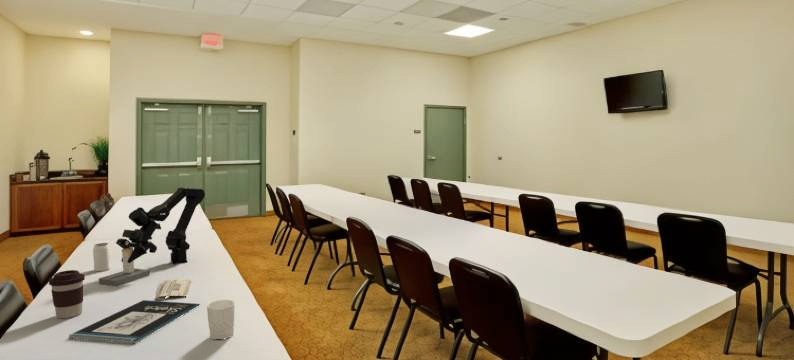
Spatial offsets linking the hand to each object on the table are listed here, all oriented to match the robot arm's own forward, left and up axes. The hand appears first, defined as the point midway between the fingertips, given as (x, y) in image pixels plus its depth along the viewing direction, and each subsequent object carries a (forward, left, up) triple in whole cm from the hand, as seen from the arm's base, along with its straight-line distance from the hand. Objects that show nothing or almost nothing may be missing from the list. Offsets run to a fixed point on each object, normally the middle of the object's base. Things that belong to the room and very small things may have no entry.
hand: (125, 262), depth 194 cm
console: (0, 0, -8) cm, 8 cm away
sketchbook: (-2, +55, -8) cm, 56 cm away
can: (+9, -23, -8) cm, 26 cm away
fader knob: (-1, -1, -5) cm, 5 cm away
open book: (-15, +27, -8) cm, 32 cm away
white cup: (-23, +82, -8) cm, 85 cm away
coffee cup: (+18, +36, -8) cm, 41 cm away
